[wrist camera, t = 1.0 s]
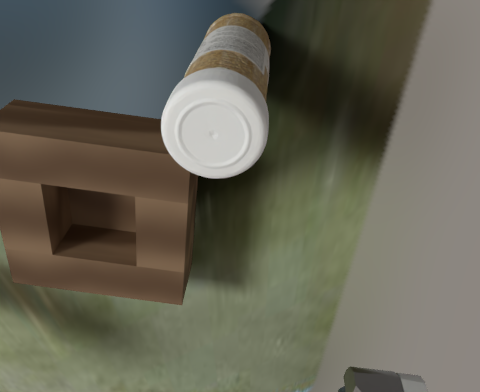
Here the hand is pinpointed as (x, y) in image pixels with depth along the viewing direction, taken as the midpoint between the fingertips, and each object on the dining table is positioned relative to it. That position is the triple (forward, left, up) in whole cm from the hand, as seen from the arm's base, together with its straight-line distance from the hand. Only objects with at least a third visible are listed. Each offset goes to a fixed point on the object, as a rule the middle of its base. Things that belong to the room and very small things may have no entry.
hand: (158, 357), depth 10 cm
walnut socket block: (+13, -9, -24) cm, 29 cm away
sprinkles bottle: (0, 0, -24) cm, 24 cm away
